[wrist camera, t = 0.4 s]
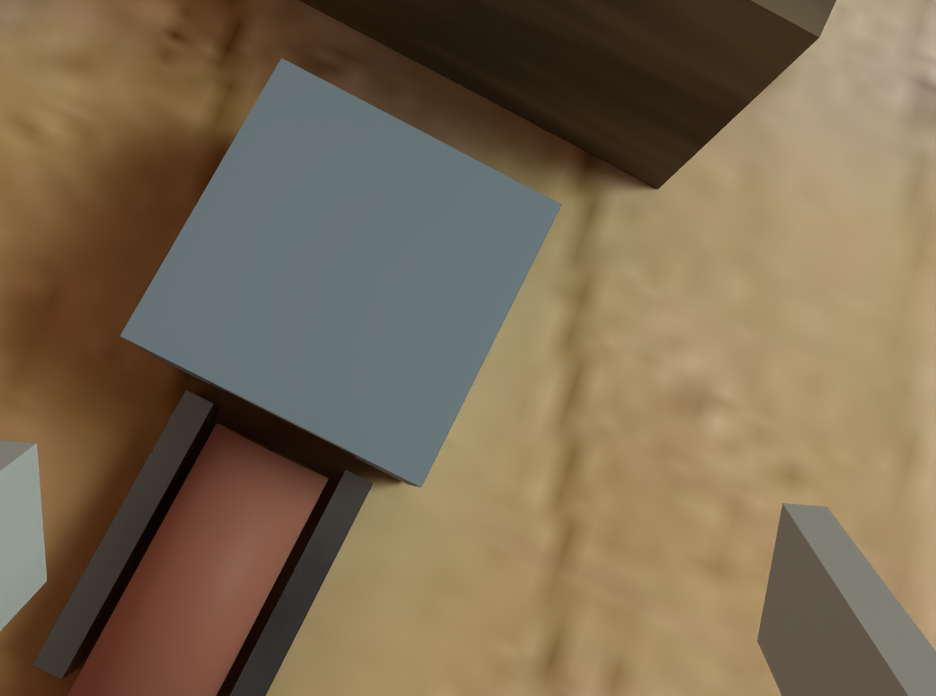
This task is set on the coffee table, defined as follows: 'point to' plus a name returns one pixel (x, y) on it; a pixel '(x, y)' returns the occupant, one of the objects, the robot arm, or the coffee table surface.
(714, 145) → the coffee table surface
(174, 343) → the block
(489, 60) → the wall
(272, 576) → the dowel
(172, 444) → the rails
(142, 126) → the coffee table surface
